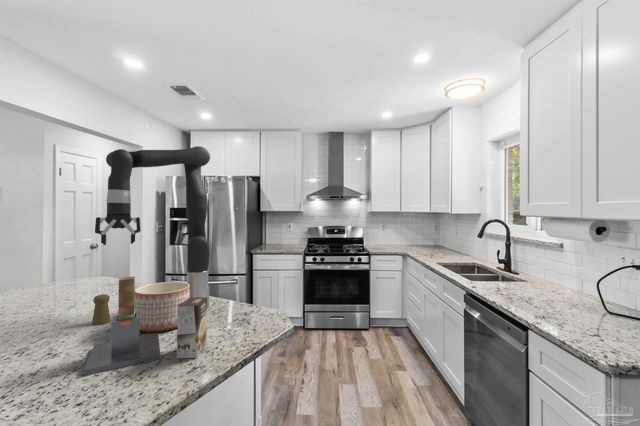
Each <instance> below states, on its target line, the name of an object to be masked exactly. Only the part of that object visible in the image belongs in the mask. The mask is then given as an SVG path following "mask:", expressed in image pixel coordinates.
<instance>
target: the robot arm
mask: <svg viewBox="0 0 640 426" xmlns="http://www.w3.org/2000/svg"><path fill="white" fill-rule="evenodd" d="M210 160H211V155H210V152H209V150H208V149H207V148H205V147H203V146H193V147H190V148H182V149H180V148H179V149H139V150H133V151H128V150H126V149H123V148H122V149H121V148H120V149H119V148H118V149H115V150H113V151H111V152H109V153H108V154H107V155H106V158H105V161H106V164H107V166H108V167H110V174H109V176H108V179H107V194H106V216H105V217H101V216H98V217H96V218H95V225H94V233H95V234H99V235H100V242H101V244H103V246H106V245H107V232H108V231H110V229H111V228H112V229H115V230H116V229H125V228H126V229H127V230H128V231H129V233H131V234H130V244H131V245H134V243H135V241H136V234H138V233H141V218H140V216H137V217H132V215H131V207H132V200H131V199H132V198H131V176H132V172H133V169H135V168H136V169H137V168H156V167H157V168H158V167H166V166H172V165H173V166H174V165H184V172H185V173H184V174H185V207H186V217H187V218H186V219H187V225H188V234H187V243H186V248H187V263H186V264H187V266H186V270H187V271H186V283H188V284H189V285H190V298H195V297H207V309H209V308H210V286H209V268H210V267H209V265H210V243H209V241H208V240H207V235H206V221H207V215H208V214H207V213H208V194H207V191H206V188H205V186H204V182H203V181H202V167H204V166H206V165H207V164H209V162H210ZM104 221H105V222H106V223H107V226H105V228H104V229H103V230H101V224H103V223H104ZM132 221H133V223H135V224H136V229H133V227H132V226H131V225H130V224H131V222H132Z"/></svg>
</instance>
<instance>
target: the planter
mask: <svg viewBox="0 0 640 426" xmlns="http://www.w3.org/2000/svg"><path fill="white" fill-rule="evenodd" d="M188 298H190V285H189V284H188V283H187V282H183V281H164V282H154V283H149V284H144V285H141V286H138V287H137V288H135V306H134V311H135V312H140V332H141V331H142V332H143V333H144V332H145V333H161V332H167V331H170V330H174V329H176V328H177V317H178V305H179V304H181V303H182V302H184V301H185V300H187V299H188Z"/></svg>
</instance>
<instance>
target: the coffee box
mask: <svg viewBox="0 0 640 426" xmlns="http://www.w3.org/2000/svg"><path fill="white" fill-rule="evenodd" d="M207 332H208V308H207V297H195V298H188V299H187V300H185V301H184V302H182V303H181V304H179V305H178V317H177V329H176V359H196V358H199V356H200V354H201V353H202V352H203V350H204V349H206V348H205V347H206V346H207V339H208V333H207Z"/></svg>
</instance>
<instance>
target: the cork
mask: <svg viewBox="0 0 640 426" xmlns="http://www.w3.org/2000/svg"><path fill="white" fill-rule="evenodd" d="M109 302H110V295H109V294H104V293H103V294H102V293H101V294H99V295H95V296H94V298H93V303H94V309H93V316H92V321H91V325H92V326H101V325H106V324H109V323H110V322H112V321H111V315H110V310H109V309H110V308H109Z"/></svg>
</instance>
